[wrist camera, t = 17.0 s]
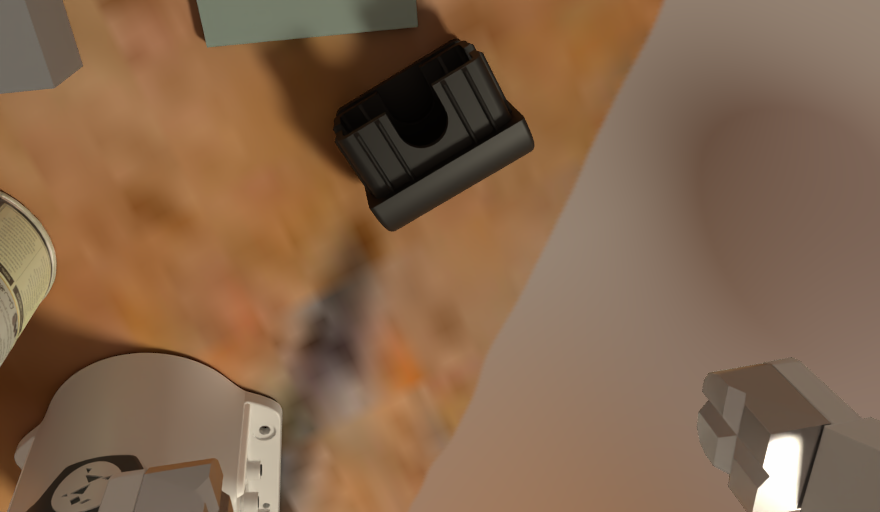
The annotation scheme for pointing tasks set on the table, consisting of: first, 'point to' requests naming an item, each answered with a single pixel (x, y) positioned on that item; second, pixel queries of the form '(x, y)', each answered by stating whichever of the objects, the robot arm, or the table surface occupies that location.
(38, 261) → the coffee can
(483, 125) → the end cap
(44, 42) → the grey holed block
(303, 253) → the table surface
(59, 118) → the table surface
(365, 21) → the mat
